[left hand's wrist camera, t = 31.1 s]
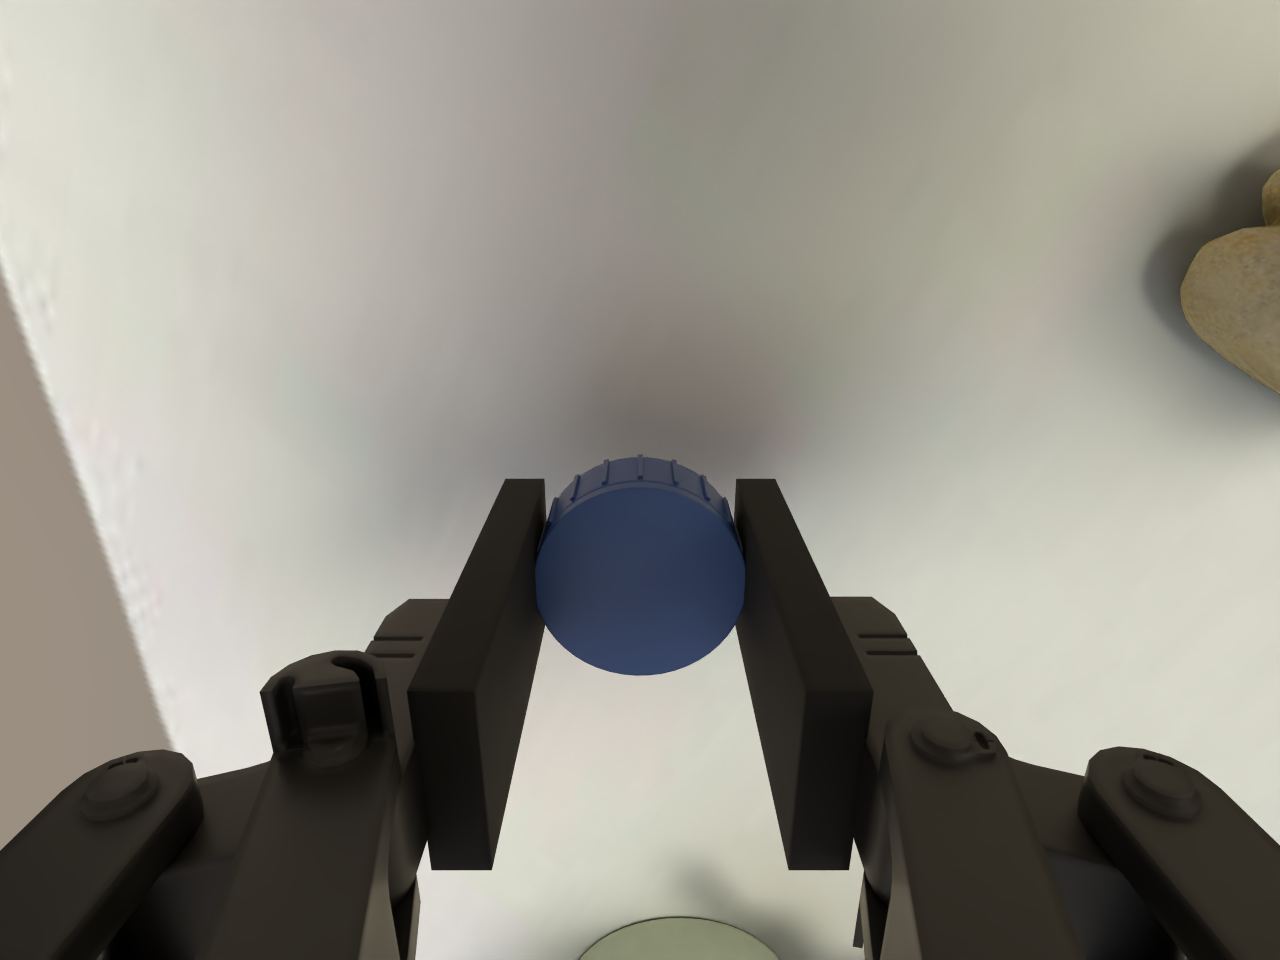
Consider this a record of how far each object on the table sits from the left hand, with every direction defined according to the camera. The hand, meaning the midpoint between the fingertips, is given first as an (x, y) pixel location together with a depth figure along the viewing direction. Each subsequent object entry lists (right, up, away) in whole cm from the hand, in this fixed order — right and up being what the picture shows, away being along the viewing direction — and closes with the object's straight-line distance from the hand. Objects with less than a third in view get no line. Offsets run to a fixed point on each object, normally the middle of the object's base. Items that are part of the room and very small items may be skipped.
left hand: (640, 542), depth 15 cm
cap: (0, -1, -1) cm, 1 cm away
